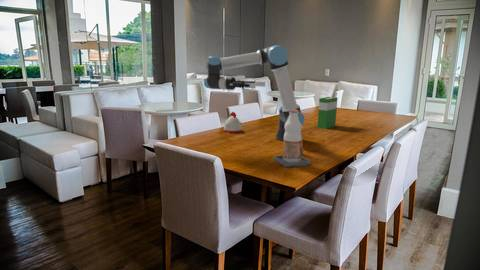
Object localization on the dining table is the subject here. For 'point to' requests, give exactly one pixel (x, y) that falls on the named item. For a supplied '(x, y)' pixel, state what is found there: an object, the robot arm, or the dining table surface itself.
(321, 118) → the green white box
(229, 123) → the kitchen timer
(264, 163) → the dining table surface
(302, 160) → the tray
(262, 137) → the dining table surface
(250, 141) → the dining table surface
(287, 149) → the white milk bottle
